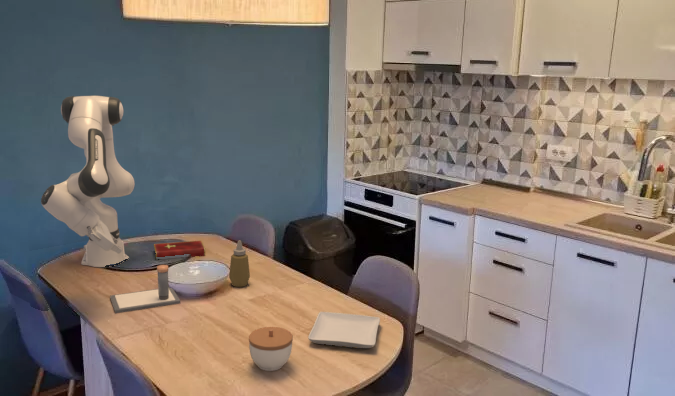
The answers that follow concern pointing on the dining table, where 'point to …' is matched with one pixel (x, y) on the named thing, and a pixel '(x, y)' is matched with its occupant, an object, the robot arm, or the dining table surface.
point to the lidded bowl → (270, 347)
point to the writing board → (141, 300)
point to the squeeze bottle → (239, 267)
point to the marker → (163, 282)
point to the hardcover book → (180, 249)
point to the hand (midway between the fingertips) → (118, 247)
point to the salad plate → (345, 330)
